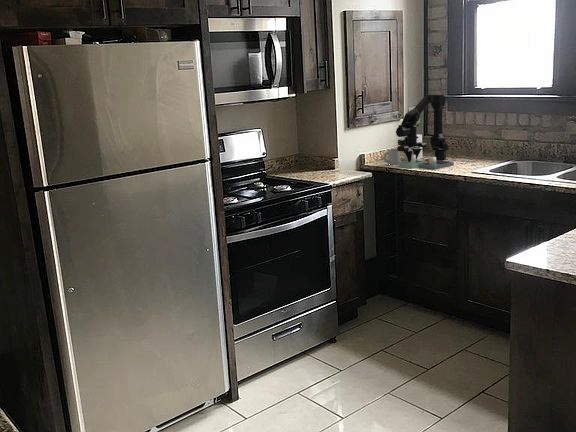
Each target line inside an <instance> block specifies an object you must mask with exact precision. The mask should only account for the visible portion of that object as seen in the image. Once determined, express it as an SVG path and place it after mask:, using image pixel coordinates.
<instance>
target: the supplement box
mask: <svg viewBox="0 0 576 432" xmlns="http://www.w3.org/2000/svg"><path fill="white" fill-rule="evenodd" d="M417 136H418V138H417V143H418V142H423V135H422V134H417ZM405 137H407V136H403V137H402V138H403V139H402V140H405ZM412 149H413V148H412ZM412 149H411V151H412V154H413V150H412ZM420 149H422V150H421V151H420V153H419V155H418V157H417V159H416V160H418V159H419V160H420V159H423V158H424V157H423V148H422V147H420ZM403 161H408V159H407V156H406V154H405V153H404V152H403Z"/></svg>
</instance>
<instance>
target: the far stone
mask: <svg viewBox="0 0 576 432" xmlns="http://www.w3.org/2000/svg"><path fill="white" fill-rule="evenodd" d="M428 162H429V165H431V166H436V157H435V156H429V157H428Z"/></svg>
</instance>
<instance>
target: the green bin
mask: <svg viewBox="0 0 576 432" xmlns="http://www.w3.org/2000/svg"><path fill="white" fill-rule="evenodd" d="M426 162H427V161H426V160H420V159H419V160H416V163H414V164H409V161H408V160H403V161H400V162H399V165H398V167H399V168H405V169H418V168H419V164H422V163H426Z"/></svg>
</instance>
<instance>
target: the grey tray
mask: <svg viewBox="0 0 576 432" xmlns="http://www.w3.org/2000/svg"><path fill="white" fill-rule="evenodd" d="M453 166H454V161H448V160H443V161H441V160H436V166H431V165H429V161H426V163H422V164H419V167H418V168H420V169H426V170H433V171H436V170H439V169H444V168H448V167H453Z"/></svg>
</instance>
